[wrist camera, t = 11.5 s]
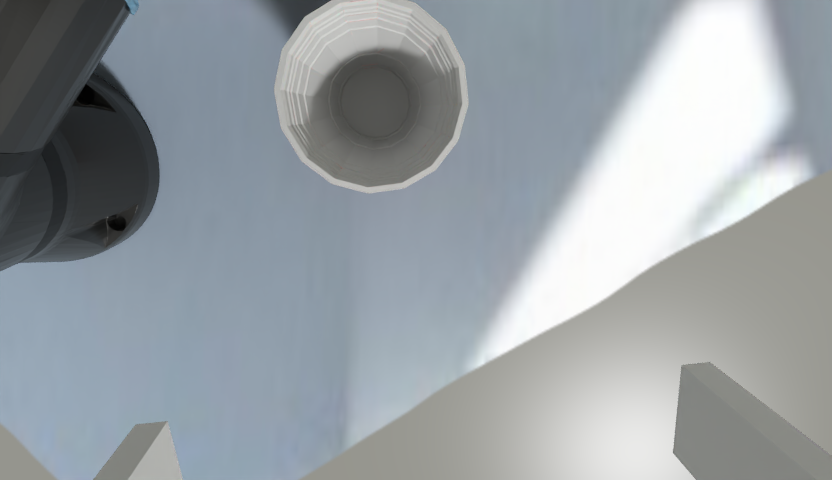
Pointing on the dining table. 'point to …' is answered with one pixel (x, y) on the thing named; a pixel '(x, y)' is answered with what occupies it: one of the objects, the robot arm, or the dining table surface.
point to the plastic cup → (371, 93)
